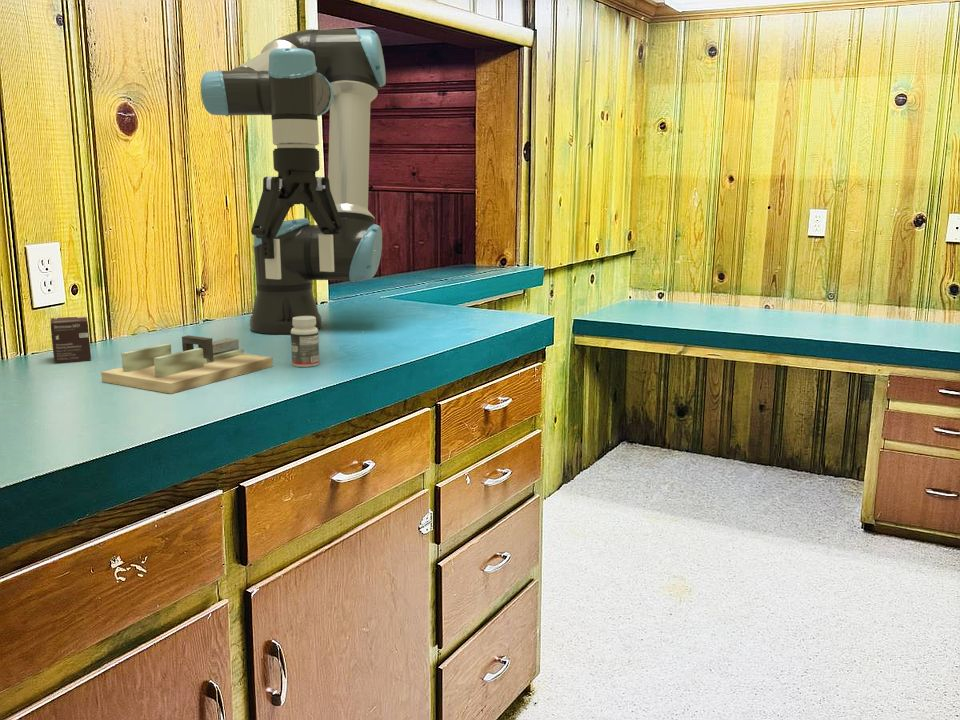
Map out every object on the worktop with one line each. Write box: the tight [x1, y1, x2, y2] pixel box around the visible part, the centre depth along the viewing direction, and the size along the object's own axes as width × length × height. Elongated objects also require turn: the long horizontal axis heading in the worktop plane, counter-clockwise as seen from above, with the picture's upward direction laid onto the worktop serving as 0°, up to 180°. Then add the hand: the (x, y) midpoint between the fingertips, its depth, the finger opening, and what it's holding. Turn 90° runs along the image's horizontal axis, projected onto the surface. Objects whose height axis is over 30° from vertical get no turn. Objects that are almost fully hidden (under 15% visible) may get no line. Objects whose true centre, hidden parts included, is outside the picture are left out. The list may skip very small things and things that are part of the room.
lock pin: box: [197, 337, 240, 355], centre depth 149 cm, size 7×2×2 cm, turn 150°
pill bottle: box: [290, 316, 320, 368], centre depth 149 cm, size 5×5×8 cm
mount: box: [100, 335, 274, 395], centre depth 142 cm, size 22×16×6 cm
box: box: [50, 316, 92, 364], centre depth 154 cm, size 6×6×7 cm
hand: (301, 275), depth 146 cm, fingers open, 13 cm apart
